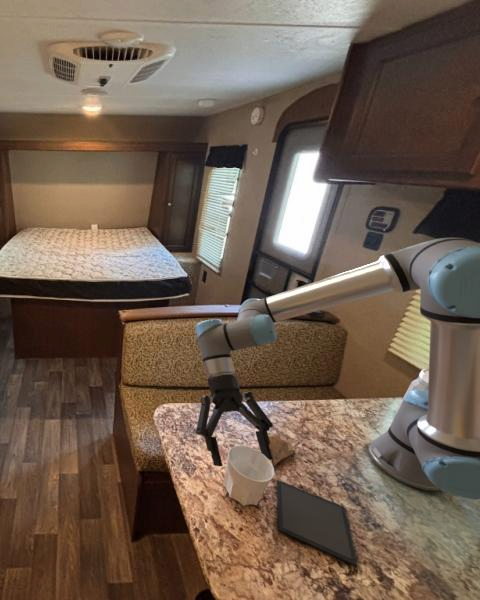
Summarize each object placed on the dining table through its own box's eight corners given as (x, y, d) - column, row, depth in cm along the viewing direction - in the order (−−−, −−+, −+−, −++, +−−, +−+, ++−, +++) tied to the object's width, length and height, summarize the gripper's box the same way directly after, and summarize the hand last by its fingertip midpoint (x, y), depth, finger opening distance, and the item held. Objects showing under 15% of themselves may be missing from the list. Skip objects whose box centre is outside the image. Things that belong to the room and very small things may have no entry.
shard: (271, 468, 85) (273, 463, 85) (246, 447, 92) (248, 443, 91) (295, 454, 90) (297, 449, 89) (270, 435, 96) (272, 430, 96)
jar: (444, 436, 97) (474, 389, 90) (406, 429, 100) (432, 383, 93) (422, 414, 106) (448, 370, 99) (388, 408, 108) (410, 364, 101)
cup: (272, 509, 75) (283, 480, 71) (232, 511, 74) (241, 482, 71) (249, 471, 84) (258, 444, 80) (213, 473, 84) (220, 446, 80)
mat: (343, 508, 76) (344, 506, 76) (356, 567, 64) (357, 565, 64) (276, 481, 82) (277, 479, 82) (278, 531, 71) (279, 529, 70)
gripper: (253, 374, 91) (277, 455, 83) (172, 381, 87) (189, 466, 80) (271, 370, 84) (298, 457, 77) (184, 377, 80) (204, 470, 73)
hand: (243, 462), depth 78 cm, fingers open, 13 cm apart
